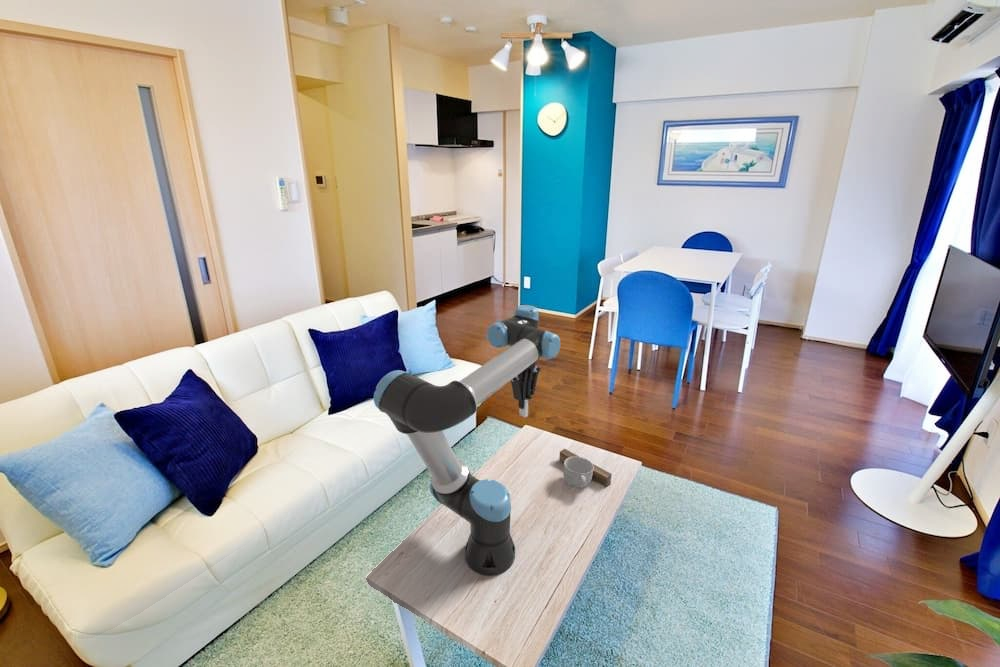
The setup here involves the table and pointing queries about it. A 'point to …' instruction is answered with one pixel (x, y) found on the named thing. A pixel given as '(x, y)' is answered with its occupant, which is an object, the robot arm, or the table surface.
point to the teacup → (578, 471)
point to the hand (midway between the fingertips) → (523, 415)
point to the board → (598, 473)
